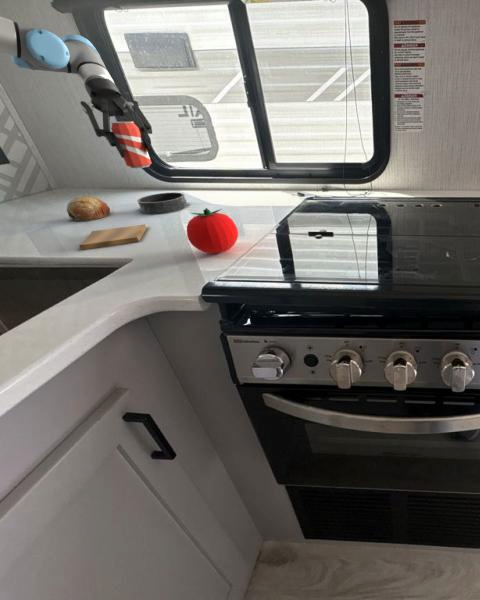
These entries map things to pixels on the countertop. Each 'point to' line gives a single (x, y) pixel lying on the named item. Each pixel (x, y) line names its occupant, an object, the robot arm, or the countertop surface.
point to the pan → (162, 203)
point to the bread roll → (87, 208)
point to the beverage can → (131, 144)
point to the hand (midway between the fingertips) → (137, 153)
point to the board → (113, 236)
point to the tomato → (212, 232)
